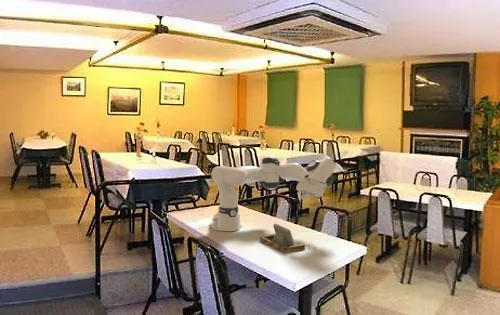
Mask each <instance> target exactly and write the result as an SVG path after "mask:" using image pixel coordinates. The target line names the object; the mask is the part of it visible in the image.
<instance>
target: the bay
mask: <svg viewBox="0 0 500 315" xmlns="http://www.w3.org/2000/svg"><path fill="white" fill-rule="evenodd" d="M274 235H275V234H271V235H270V234H269V235H264V236H259V238H260V242H261V243H263V244H265V245H266V246H269V247H272V248H273V249H276V250H278V251H280V252H282V253H283V254H286V253H293V252H297V251H302V250H303V251H304V250H305V249H306V245H305V243H301V244H298V245H297V244H295V246H290V247H283V246H281V245H279V244H277V243H275V242H273V237H274Z"/></svg>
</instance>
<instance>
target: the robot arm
mask: <svg viewBox="0 0 500 315" xmlns="http://www.w3.org/2000/svg"><path fill="white" fill-rule="evenodd" d="M280 163H281V161H279V159H278V158H277V157H275V156H271V155H268V156H265V157H264V158H262V160H261V168H260V167H259V166H255V165H241V166H239V167H236V166H234V167H233V166H225V165H220V166H215V167H213V168H212V170H211V174H210V175H211V179H212V180H213V182H215V184H216V187H217V189H218V193H219V206H218V212H217V213H216V214H214V215H213V217H212V222H209V226H210V227H211V228H212V229H213V230H214V231H218V232H219V231H221V232H235V231H239V230H240V229H241V228H243V225H242V224H241V214H240V213H239V206H238V204H239V203H238V202H239V200H238V199H239V198H238V197H239V196H238V195H239V194H238V193H237V191H236V190H235V189H234V187H233V186H235V187H238V186H239V187H241V186H244V185H245V184H251V183H256V182H261V183H260V185H262V187H263V188H265V189H267V190H272V191H273V190H276V189H277V188H279V186H280V178H281V179H282V180H285V181H296V182H298V183H297V185H296V188H295V189H296V191H297V192H298V193H301V196H300V199H301V200H303V201H306V200H307V199H308V198H310V197H311V196H313V197H317V198H321V197H323V195H324V193H325V191H326V189H327V188H330V187H331V186H332V184H333V182H334V175H333V173H334V172H335V170H336V168H337V162H336V161H335V160H334V159H332V158H331V157H329V156H326V157H325V158H324V159H321V160H314V159H313V160H311V161H310V162H308V164H307V166H306V169H305V168H304V167H303V166H302V165H301V164H300V163H298V162H297V163H296V162H288V163H284V164H280Z"/></svg>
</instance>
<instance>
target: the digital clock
mask: <svg viewBox="0 0 500 315" xmlns="http://www.w3.org/2000/svg"><path fill="white" fill-rule="evenodd" d="M273 229H274V232H275V234H273V235H274V237H273V240H272V241H273V242H275V243H277V244H279V245H281V246H283V247H290V246H295V245H296V244H295V242H294V238H293V234H292V232H291V229H289V228H287V227H285V226H282V225H281V224H279V223H274V224H273Z"/></svg>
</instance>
